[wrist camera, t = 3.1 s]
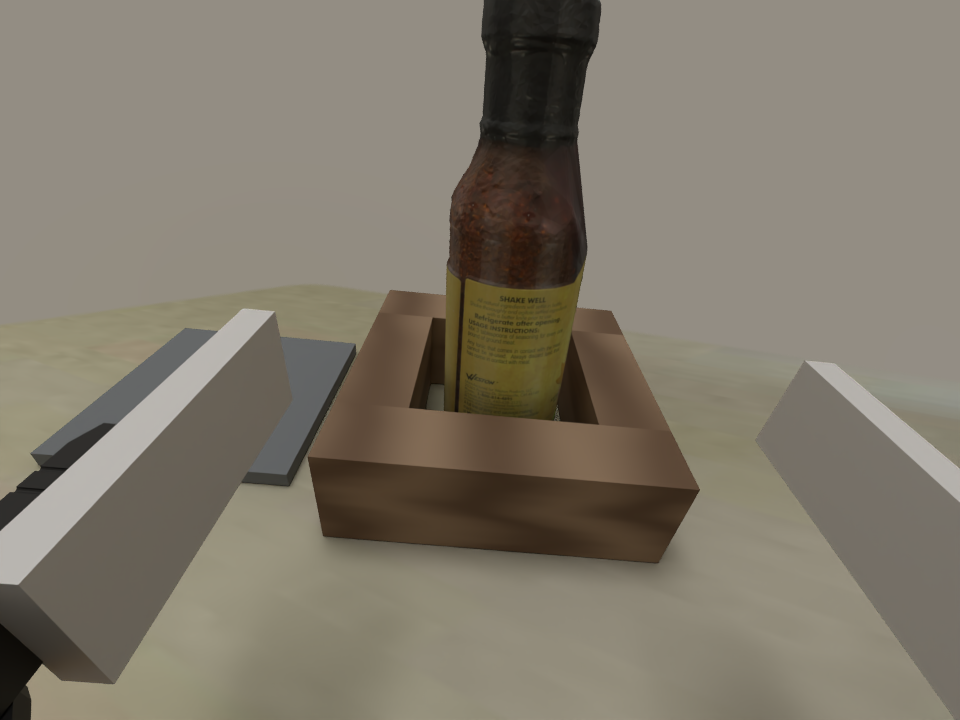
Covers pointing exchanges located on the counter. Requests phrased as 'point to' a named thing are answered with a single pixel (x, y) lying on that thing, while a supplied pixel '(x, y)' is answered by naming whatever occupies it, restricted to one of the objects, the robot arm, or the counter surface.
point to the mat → (313, 389)
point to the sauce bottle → (520, 214)
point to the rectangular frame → (499, 451)
